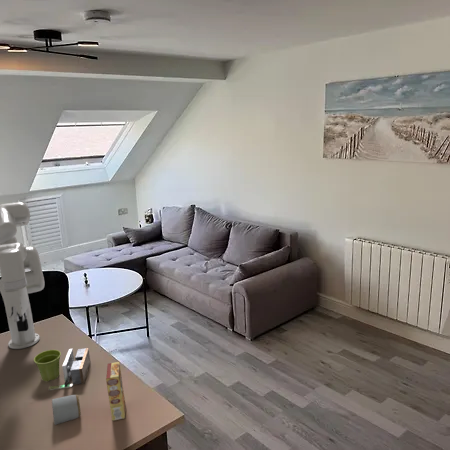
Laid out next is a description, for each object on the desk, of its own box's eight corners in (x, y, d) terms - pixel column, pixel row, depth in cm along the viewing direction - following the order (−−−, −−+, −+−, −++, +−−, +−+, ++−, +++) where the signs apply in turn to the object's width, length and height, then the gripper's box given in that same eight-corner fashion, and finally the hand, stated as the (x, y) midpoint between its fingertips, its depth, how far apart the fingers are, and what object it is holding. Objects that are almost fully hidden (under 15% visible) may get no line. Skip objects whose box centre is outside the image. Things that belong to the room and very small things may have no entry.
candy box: (125, 418, 132) (119, 376, 128) (111, 421, 131) (105, 378, 127) (125, 401, 140) (120, 361, 136) (112, 404, 139) (106, 363, 136)
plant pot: (69, 371, 159) (66, 351, 157) (52, 386, 151) (48, 364, 149) (49, 368, 162) (46, 348, 160) (31, 382, 154) (27, 361, 152)
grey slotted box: (48, 390, 148) (46, 375, 147) (59, 365, 164) (56, 351, 162) (83, 385, 150) (81, 370, 149) (90, 361, 165) (88, 348, 164)
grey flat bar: (63, 386, 149) (60, 369, 148) (71, 365, 163) (69, 349, 162) (75, 385, 150) (72, 368, 148) (82, 363, 164) (79, 347, 162)
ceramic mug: (82, 421, 132) (79, 399, 130) (55, 430, 128) (51, 408, 127) (78, 402, 141) (75, 382, 139) (53, 410, 138) (49, 390, 136)
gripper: (10, 276, 153) (19, 321, 158) (-5, 292, 139) (5, 341, 144) (32, 274, 154) (39, 319, 159) (19, 290, 140) (28, 339, 145)
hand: (23, 330), depth 151 cm, fingers closed
